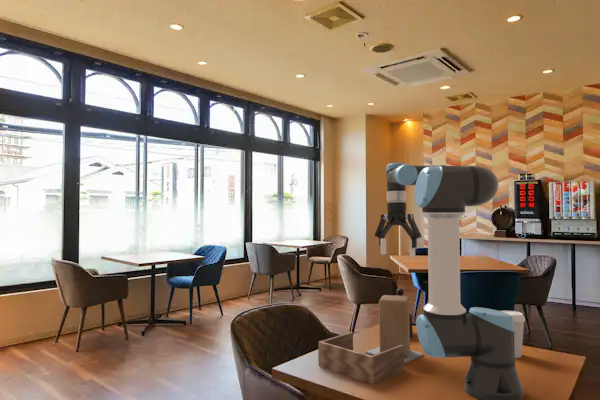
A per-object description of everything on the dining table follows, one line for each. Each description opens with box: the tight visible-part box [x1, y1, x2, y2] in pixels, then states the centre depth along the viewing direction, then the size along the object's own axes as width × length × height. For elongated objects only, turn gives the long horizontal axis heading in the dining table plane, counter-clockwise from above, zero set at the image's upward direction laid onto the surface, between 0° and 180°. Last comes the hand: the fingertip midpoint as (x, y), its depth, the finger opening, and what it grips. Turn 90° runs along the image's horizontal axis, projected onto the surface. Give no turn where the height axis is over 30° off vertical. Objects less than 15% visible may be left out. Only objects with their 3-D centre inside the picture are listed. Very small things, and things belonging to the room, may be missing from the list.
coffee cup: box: [500, 310, 526, 359], centre depth 153 cm, size 10×10×15 cm
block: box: [378, 294, 411, 357], centre depth 155 cm, size 10×10×20 cm
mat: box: [365, 346, 424, 365], centre depth 155 cm, size 16×13×1 cm
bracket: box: [317, 331, 405, 385], centre depth 142 cm, size 23×17×8 cm
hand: (397, 255), depth 169 cm, fingers open, 13 cm apart
